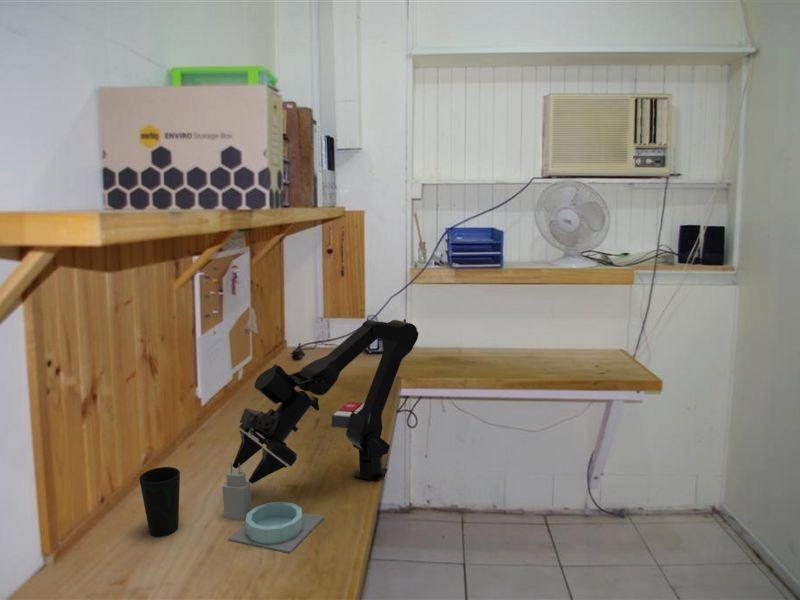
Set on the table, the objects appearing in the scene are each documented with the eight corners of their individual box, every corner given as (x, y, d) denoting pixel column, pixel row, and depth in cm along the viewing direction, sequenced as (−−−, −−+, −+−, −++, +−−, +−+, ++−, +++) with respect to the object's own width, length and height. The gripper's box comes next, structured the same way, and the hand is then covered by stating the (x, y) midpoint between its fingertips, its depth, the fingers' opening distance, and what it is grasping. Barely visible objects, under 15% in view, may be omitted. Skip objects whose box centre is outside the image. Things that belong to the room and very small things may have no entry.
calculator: (380, 402, 196) (366, 416, 182) (380, 415, 197) (366, 430, 182) (347, 400, 199) (331, 413, 184) (347, 413, 199) (331, 427, 185)
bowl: (266, 512, 133) (265, 498, 133) (312, 521, 129) (311, 506, 129) (235, 538, 123) (234, 523, 122) (284, 548, 119) (283, 533, 118)
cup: (188, 519, 131) (184, 466, 129) (176, 539, 124) (172, 482, 122) (151, 520, 131) (147, 467, 129) (137, 540, 123) (133, 483, 121)
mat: (266, 507, 136) (266, 506, 136) (323, 518, 131) (323, 516, 131) (228, 540, 123) (228, 538, 123) (289, 553, 118) (289, 551, 118)
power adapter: (229, 511, 135) (226, 458, 133) (252, 513, 134) (250, 460, 132) (222, 518, 132) (219, 464, 130) (246, 520, 131) (243, 466, 129)
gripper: (246, 384, 140) (199, 441, 135) (281, 405, 125) (230, 471, 120) (279, 411, 146) (236, 467, 141) (316, 434, 131) (269, 498, 126)
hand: (241, 474), depth 132 cm, fingers open, 9 cm apart
